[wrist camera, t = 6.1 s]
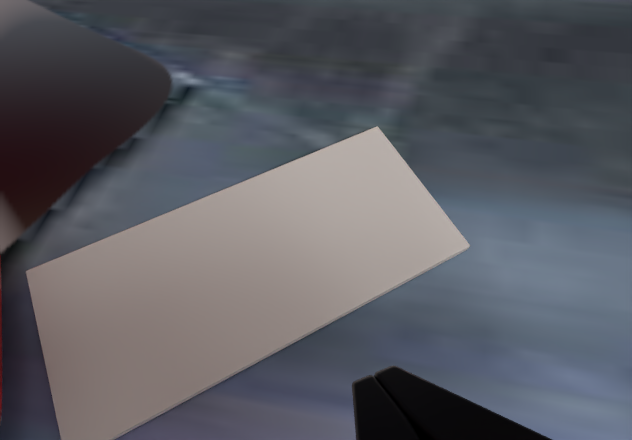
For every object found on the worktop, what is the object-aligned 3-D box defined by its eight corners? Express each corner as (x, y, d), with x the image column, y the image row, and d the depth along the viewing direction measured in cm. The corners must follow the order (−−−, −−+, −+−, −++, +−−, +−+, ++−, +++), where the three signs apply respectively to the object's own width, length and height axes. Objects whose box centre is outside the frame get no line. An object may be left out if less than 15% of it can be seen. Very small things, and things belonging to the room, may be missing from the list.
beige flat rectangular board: (466, 250, 19) (470, 245, 18) (73, 461, 14) (65, 462, 14) (375, 132, 22) (377, 126, 21) (32, 275, 17) (25, 271, 17)
